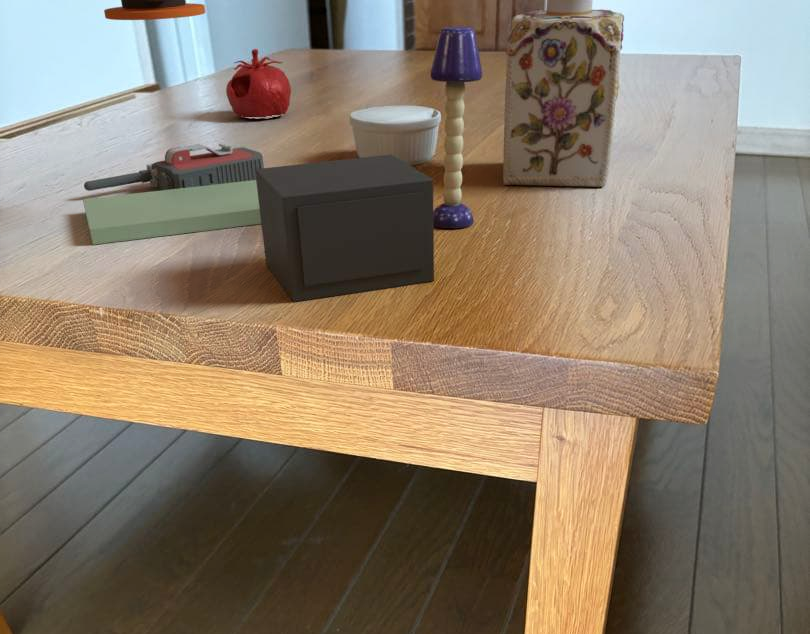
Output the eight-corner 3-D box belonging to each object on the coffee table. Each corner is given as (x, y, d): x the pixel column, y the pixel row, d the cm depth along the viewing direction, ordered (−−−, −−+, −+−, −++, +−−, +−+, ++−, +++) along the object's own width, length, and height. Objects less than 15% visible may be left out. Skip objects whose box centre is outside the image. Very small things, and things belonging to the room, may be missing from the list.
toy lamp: (443, 214, 89) (442, 24, 80) (486, 218, 88) (491, 25, 78) (423, 227, 86) (420, 30, 76) (467, 231, 84) (470, 30, 74)
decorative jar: (611, 163, 105) (628, -15, 95) (608, 188, 96) (628, -6, 85) (510, 162, 107) (517, -13, 97) (499, 186, 98) (504, -4, 87)
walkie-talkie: (241, 168, 109) (83, 197, 99) (236, 129, 106) (74, 155, 96) (277, 180, 103) (114, 213, 93) (273, 140, 100) (104, 169, 91)
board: (92, 245, 84) (89, 229, 83) (85, 213, 93) (82, 199, 92) (296, 219, 89) (295, 204, 88) (271, 192, 99) (269, 178, 98)
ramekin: (433, 170, 105) (433, 122, 102) (342, 169, 107) (339, 121, 104) (447, 150, 114) (447, 105, 111) (362, 149, 116) (360, 105, 113)
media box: (293, 303, 70) (282, 197, 65) (266, 265, 78) (254, 169, 73) (435, 281, 73) (434, 180, 68) (394, 247, 81) (391, 154, 76)
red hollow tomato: (286, 108, 142) (280, 43, 137) (299, 119, 135) (293, 49, 129) (225, 114, 140) (216, 47, 135) (235, 124, 132) (226, 54, 127)
